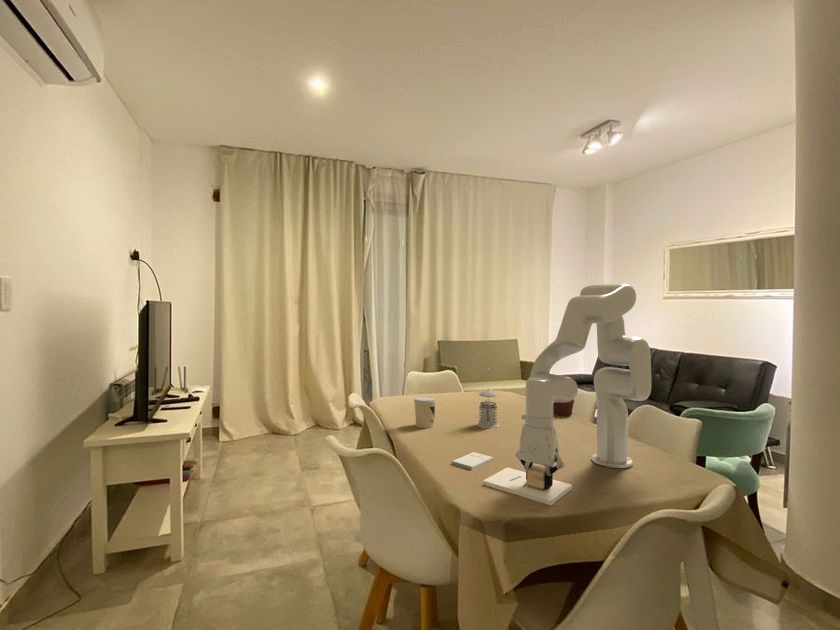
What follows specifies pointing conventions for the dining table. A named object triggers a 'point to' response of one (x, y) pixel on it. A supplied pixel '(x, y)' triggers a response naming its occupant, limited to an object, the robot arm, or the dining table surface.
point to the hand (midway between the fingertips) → (539, 485)
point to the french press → (488, 411)
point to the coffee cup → (424, 411)
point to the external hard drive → (472, 460)
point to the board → (517, 485)
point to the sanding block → (536, 477)
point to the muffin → (563, 408)
